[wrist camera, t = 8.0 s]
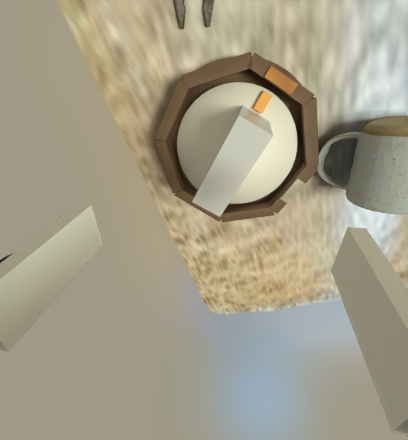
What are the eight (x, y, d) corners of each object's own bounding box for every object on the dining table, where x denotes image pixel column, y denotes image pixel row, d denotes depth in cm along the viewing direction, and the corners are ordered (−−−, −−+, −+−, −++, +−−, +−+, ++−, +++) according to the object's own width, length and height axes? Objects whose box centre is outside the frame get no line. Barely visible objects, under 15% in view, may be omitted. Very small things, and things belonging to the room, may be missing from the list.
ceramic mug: (431, 108, 24) (495, 121, 17) (409, 183, 28) (454, 217, 21) (317, 122, 26) (334, 138, 20) (312, 189, 30) (325, 220, 24)
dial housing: (144, 86, 27) (130, 88, 24) (310, 29, 22) (319, 21, 19) (189, 217, 36) (183, 230, 33) (317, 198, 31) (324, 212, 27)
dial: (252, 217, 32) (251, 254, 25) (163, 168, 31) (138, 195, 24) (323, 123, 25) (349, 142, 18) (210, 54, 23) (192, 47, 17)
